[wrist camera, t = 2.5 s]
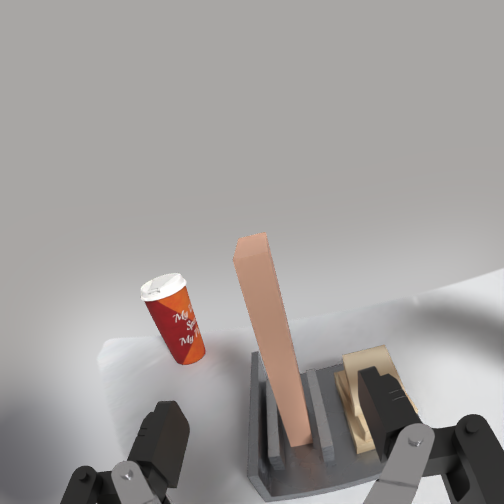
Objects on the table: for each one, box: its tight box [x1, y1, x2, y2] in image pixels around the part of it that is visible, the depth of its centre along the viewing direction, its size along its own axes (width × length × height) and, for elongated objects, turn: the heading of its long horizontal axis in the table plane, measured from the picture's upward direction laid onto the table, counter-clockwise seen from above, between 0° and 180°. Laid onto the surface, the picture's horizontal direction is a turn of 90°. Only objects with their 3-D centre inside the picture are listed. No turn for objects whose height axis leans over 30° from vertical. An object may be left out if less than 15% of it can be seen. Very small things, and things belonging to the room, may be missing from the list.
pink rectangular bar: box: [233, 232, 313, 447], centre depth 23 cm, size 6×2×20 cm, turn 0°
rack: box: [248, 352, 421, 502], centre depth 25 cm, size 17×16×6 cm
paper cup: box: [141, 273, 205, 365], centre depth 44 cm, size 8×8×14 cm
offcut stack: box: [334, 345, 418, 454], centre depth 24 cm, size 11×6×5 cm, turn 179°
